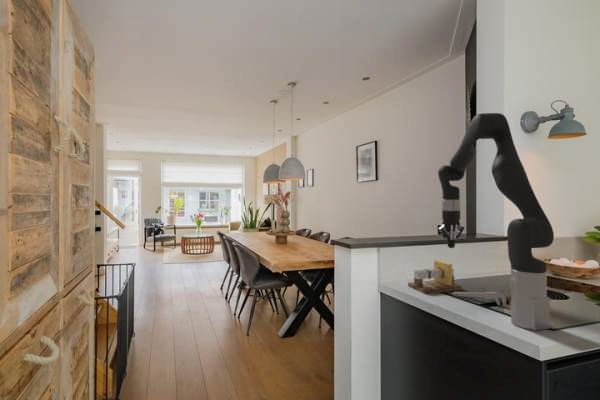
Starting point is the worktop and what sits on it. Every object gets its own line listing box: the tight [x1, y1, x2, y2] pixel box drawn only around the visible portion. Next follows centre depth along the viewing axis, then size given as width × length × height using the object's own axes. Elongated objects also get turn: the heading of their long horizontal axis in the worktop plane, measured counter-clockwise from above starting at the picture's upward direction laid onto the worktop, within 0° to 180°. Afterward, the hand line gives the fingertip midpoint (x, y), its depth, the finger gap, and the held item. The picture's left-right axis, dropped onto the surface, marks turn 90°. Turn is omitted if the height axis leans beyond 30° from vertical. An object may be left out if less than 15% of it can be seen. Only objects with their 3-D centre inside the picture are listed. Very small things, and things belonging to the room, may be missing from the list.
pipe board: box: [407, 275, 463, 295], centre depth 146 cm, size 12×18×5 cm, turn 106°
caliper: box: [450, 289, 507, 308], centre depth 129 cm, size 20×1×6 cm, turn 38°
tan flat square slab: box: [433, 259, 453, 286], centre depth 147 cm, size 9×2×9 cm, turn 16°
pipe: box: [413, 268, 455, 280], centre depth 145 cm, size 3×18×3 cm, turn 106°
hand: (451, 247), depth 151 cm, fingers closed
